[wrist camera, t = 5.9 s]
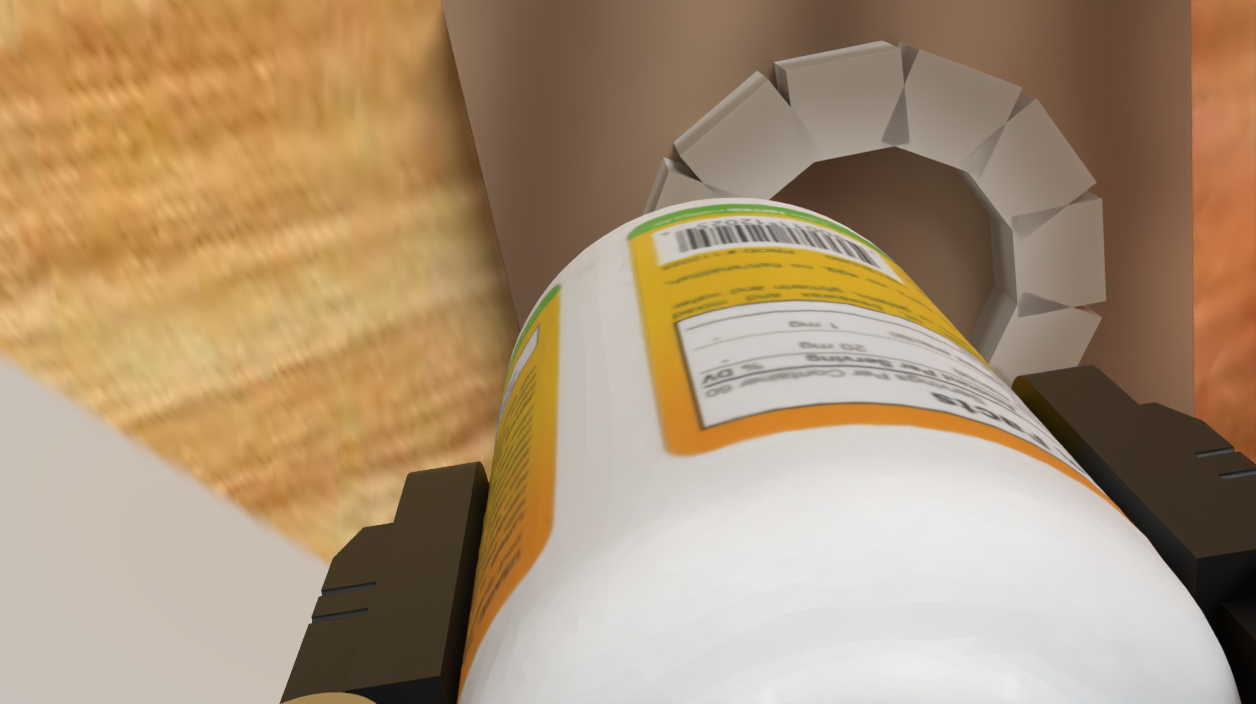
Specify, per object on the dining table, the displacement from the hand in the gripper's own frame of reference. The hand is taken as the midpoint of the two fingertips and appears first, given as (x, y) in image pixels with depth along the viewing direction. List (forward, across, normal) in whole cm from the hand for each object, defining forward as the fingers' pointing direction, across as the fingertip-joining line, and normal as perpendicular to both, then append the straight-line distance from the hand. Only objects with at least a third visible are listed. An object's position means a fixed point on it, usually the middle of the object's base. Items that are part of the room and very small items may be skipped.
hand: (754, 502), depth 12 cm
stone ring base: (+17, -4, +3) cm, 18 cm away
